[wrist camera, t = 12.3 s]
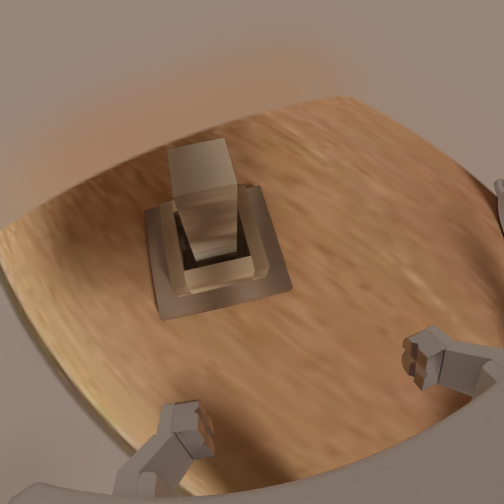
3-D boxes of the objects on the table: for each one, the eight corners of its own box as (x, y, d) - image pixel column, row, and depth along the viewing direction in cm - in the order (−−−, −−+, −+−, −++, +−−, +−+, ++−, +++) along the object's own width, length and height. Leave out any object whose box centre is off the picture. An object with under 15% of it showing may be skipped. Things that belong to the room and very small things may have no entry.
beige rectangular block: (227, 225, 28) (224, 137, 17) (236, 259, 27) (237, 183, 15) (191, 233, 27) (166, 149, 16) (198, 268, 26) (173, 197, 15)
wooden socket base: (259, 191, 31) (262, 167, 27) (290, 290, 27) (299, 278, 23) (147, 216, 29) (136, 194, 25) (163, 320, 25) (150, 312, 21)
